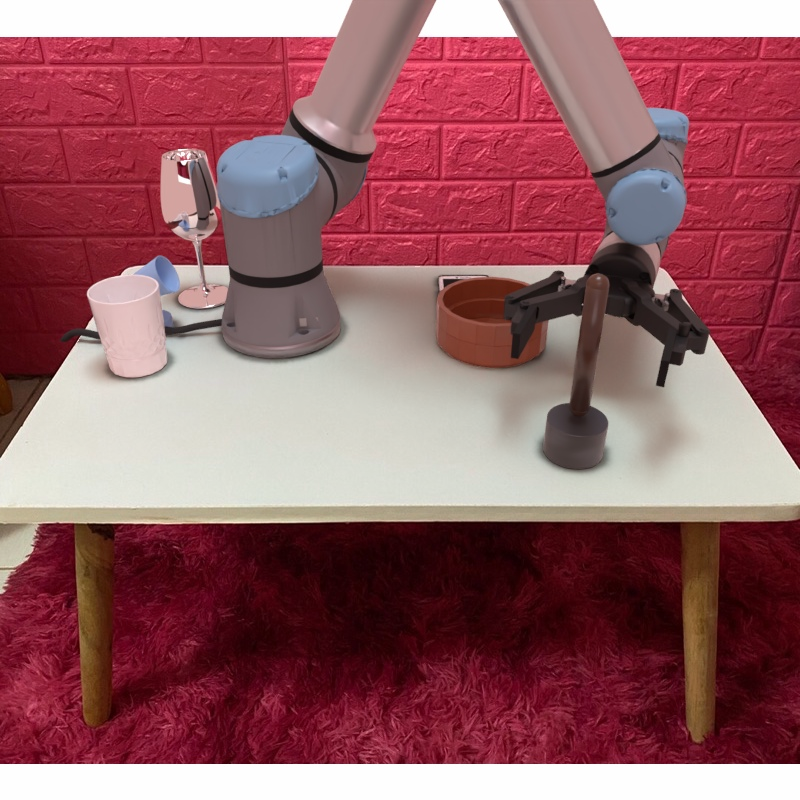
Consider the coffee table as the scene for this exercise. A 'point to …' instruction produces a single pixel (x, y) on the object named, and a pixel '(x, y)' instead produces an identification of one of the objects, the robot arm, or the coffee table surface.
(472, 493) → the coffee table surface
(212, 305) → the wineglass
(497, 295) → the bowl
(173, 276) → the spotlight
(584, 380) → the peg on round base
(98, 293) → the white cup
